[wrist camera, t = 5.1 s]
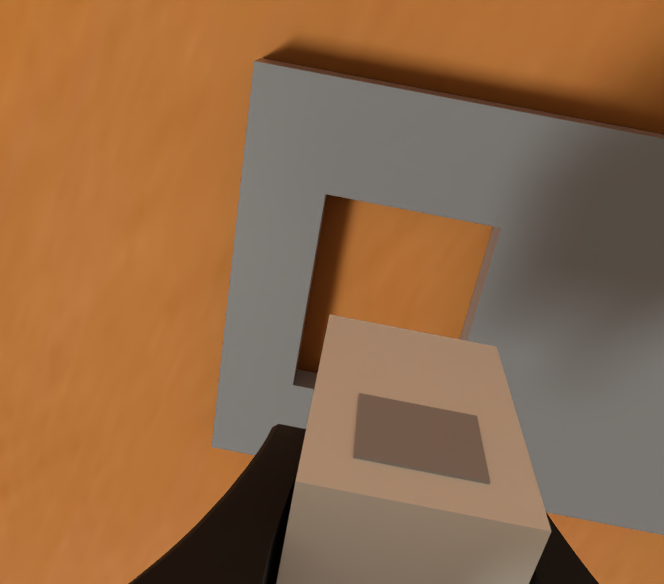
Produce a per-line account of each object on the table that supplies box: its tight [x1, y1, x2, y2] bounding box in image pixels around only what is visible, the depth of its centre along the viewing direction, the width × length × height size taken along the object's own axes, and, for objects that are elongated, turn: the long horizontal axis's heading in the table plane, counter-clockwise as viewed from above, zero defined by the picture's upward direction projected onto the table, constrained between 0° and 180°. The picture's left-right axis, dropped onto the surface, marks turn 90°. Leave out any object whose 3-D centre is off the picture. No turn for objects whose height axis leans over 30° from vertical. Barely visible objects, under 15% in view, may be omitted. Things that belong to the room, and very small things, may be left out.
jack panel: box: [212, 58, 664, 535], centre depth 20 cm, size 13×24×1 cm, turn 80°
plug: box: [276, 315, 551, 584], centre depth 12 cm, size 8×4×5 cm, turn 170°
